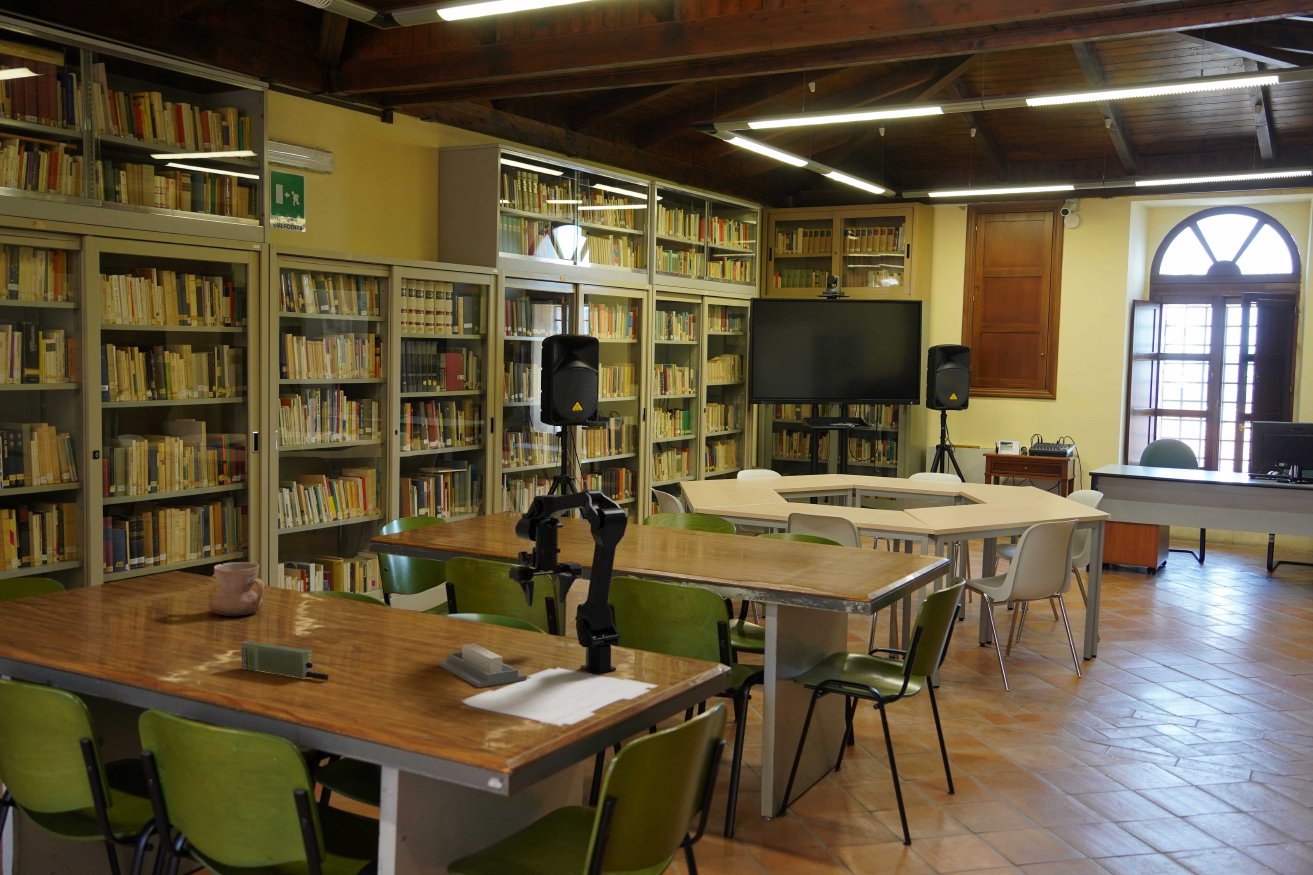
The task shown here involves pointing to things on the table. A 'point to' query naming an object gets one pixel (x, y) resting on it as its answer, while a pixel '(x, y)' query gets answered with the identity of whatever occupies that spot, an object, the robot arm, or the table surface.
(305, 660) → the handheld radio
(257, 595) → the pink mug
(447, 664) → the grey rectangular tray
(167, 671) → the table surface
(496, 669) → the white long block
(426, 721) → the table surface
